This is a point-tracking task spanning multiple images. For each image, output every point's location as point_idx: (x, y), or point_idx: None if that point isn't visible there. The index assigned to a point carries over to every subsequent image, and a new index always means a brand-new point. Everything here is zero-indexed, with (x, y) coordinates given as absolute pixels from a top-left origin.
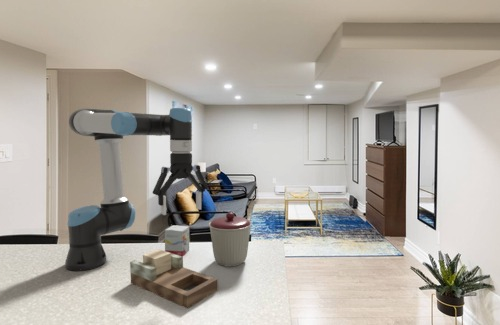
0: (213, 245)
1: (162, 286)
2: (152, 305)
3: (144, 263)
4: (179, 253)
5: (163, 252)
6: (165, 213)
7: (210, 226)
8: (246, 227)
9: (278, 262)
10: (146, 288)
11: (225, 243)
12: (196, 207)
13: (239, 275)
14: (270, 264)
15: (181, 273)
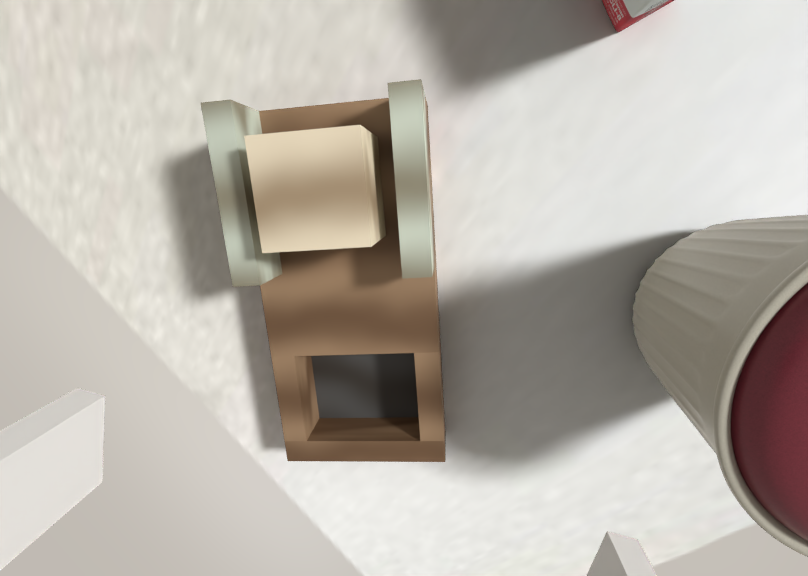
0: (680, 289)
1: (269, 338)
2: (238, 337)
3: (244, 189)
4: (616, 8)
5: (347, 203)
6: (76, 493)
7: (750, 333)
8: None
9: None
10: None
11: (684, 406)
12: (609, 552)
13: (595, 425)
14: None
15: (385, 312)
